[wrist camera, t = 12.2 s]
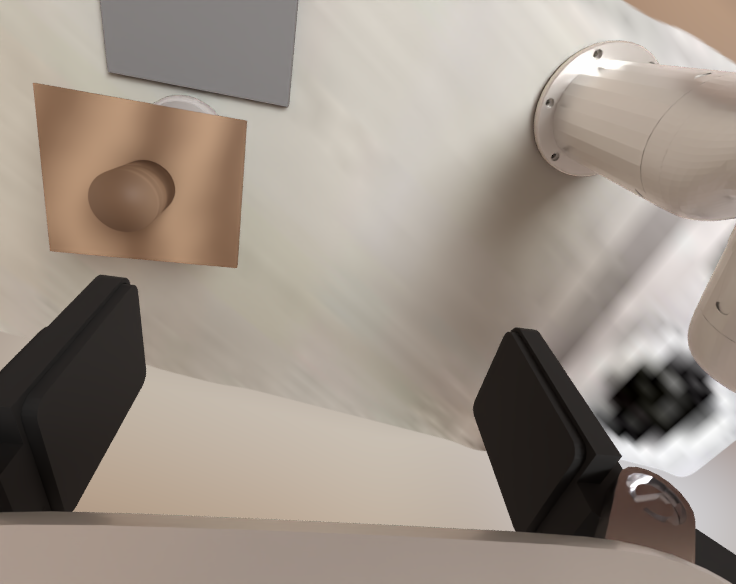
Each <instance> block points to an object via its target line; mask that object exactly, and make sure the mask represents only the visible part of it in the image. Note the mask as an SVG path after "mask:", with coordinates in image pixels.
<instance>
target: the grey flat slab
mask: <svg viewBox="0 0 736 584" xmlns="http://www.w3.org/2000/svg"><path fill="white" fill-rule="evenodd" d="M100 5H101V14H102V23H103V32H104V41H105V50H106V59H107V68H108V72H111V73H116V74H121V75H126V76H132V77H137V78H142V79H147V80H152V81H157V82H162V83H167V84H173V85H178V86H183V87H188V88H193V89H198V90H203V91H209V92H214V93H219V94H224V95H229V96H234V97H239V98H244V99H250V100H255V101H260V102H265V103H270V104H275V105H280V106H285V107H288V106H289V100H290V88H291V77H292V66H293V55H294V43H295V32H296V21H297V10H298V0H100Z"/></svg>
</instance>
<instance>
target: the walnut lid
mask: <svg viewBox="0 0 736 584" xmlns="http://www.w3.org/2000/svg"><path fill="white" fill-rule="evenodd" d="M33 88H34V98H35V108H36V117H37V127H38V137H39V147H40V157H41V166H42V176H43V186H44V196H45V206H46V215H47V225H48V235H49V245H50V251H55V252H66V253H77V254H88V255H99V256H110V257H121V258H132V259H143V260H154V261H165V262H176V263H187V264H198V265H209V266H220V267H231V268H237V265H238V251H239V236H240V221H241V205H242V190H243V175H244V160H245V144H246V129H247V121H245V120H240V119H234V118H229V117H223V116H217V115H212V114H206V113H201V112H195V111H189V110H184V109H178V108H173V107H167V106H161V105H156V104H150V103H145V102H139V101H133V100H128V99H122V98H117V97H111V96H105V95H100V94H94V93H89V92H83V91H77V90H72V89H66V88H61V87H55V86H49V85H44V84H38V83H33Z"/></svg>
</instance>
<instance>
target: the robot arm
mask: <svg viewBox="0 0 736 584" xmlns="http://www.w3.org/2000/svg"><path fill="white" fill-rule="evenodd" d="M594 52H595V55H594V56H593V54H594ZM547 100H548V103H547V104H546V101H547ZM545 104H546V105H545ZM534 134H535V141H536V144H537V147H538V150H539V152H540V153H541V155H542V156H543V158H544V159H545V160H546V161H547V162H548V163H549V164H550V165H551V166H552V167H554V168H556V169H557V170H558V171H561V172H563V173H565V174H568V175H573V176H591V175H596V174H600V175H601V176H603V177H605V178H607V179H609V180H611V181H612V182H614V183H616V184H618V185H620V186H622V187H623V188H625V189H627V190H629V191H631V192H633V193H634V194H636V195H638V196H640V197H642V198H643V199H645V200H647V201H649V202H651V203H653V204H654V205H656V206H658V207H660V208H662V209H664V210H666V211H668V212H670V213H672V214H674V215H677V216H679V217H682V218H686V219H691V220H698V221H719V220H727V219H734V218H736V72H726V71H717V70H707V69H698V68H688V67H678V66H669V65H659V63H658V61H657V60H656V58H655V57H654V56H653V54H652V53H651V52H649V51H648V50H647V49H645V48H644V47H643V46H641V45H638V44H635V43H633V42H627V41H605V42H601V43H596V44H594V45H591V46H589V47H587V48H584V49H582V50H581V51H579V52H578V53H576V54H575V55H573V56H572V57H570V58H569V59H568V60H567V61H566V62H565V63H564V64H562V65H561V66H560V67H559V68H558V70H557V71H556V72H555V73H554V75H553V76H552V77H551V78H550V80H549V81H548V83H547V85H546V86H545V88H544V90H543V92H542V94H541V97H540V99H539V101H538V104H537V108H536V113H535V118H534ZM553 154H554V155H553ZM552 155H553V157H551V156H552ZM688 346H689V349H690V351H691V354H692V356H693V358H694V359H695V360H696V362H697V363H698V365H699V366H700V367H701V368H702V369H703V370H704V371H705V372H706V373H707V374H708V375H710V376H711V377H712V378H713V379H715V380H716V381H717V382H719V383H720V384H722V385H723V386H725V387H726V388H728V389H729V390H731V391H733V392H735V393H736V225H735V227H734V229H733V231H732V233H731V235H730V237H729V239H728V244H727V246H726V248H725V250H724V252H723V254H722V256H721V258H720V260H719V262H718V264H717V266H716V268H715V270H714V272H713V274H712V276H711V278H710V280H709V282H708V284H707V286H706V288H705V290H704V292H703V294H702V296H701V299H700V301H699V303H698V305H697V308H696V310H695V312H694V314H693V317H692V319H691V322H690V325H689V330H688ZM145 377H146V364H145V355H144V345H143V336H142V326H141V316H140V307H139V297H138V289H137V287H136V286H135V285H130V282H129V280H128V279H127V278H122V277H114V276H107V275H99V276H97V277H96V278H95V279H94V280H93V281H92V282H91V283H90V284H89V285H88V286H87V287H86V288H85V289H84V290H83V291H82V292H81V293H80V294H79V295H78V296H77V297H76V298H75V299H74V300H73V301H72V302H71V303H70V304H69V305H68V306H67V307H66V308H65V309H64V310H63V311H62V312H61V314H60V315H59V316H58V317H57V318H56V319H55V320H54V321H53V322H52V323H51V324H50V325H49V326H48V327H45V328H44V329H42V330H41V331H40V332H39V333H38V334H37V335H36V336H35V337H34V338H33V339H32V340H31V341H30V342H29V343H28V344H27V345H26V346H25V347H24V348H23V349H22V350H21V351H20V352H19V353H18V354H17V355H16V356H15V357H14V358H13V359H12V360H11V361H10V362H9V363H8V364H7V365H6V366H5V367H4V368H3V369H2V370H1V371H0V584H736V555H735V554H733V553H732V552H730V551H729V550H727V549H726V548H724V547H723V546H721V545H720V544H718V543H717V542H715V541H714V540H712V539H711V538H709V537H708V536H706V535H705V534H703V533H702V532H700V531H699V530H697V529H695V517H694V512H693V510H692V509H691V507H690V505H689V503H688V502H687V501H686V499H685V498H684V497H683V495H682V494H681V493H680V492H679V491H678V490H677V489H676V488H675V487H673V486H672V485H671V484H670V483H669V482H668V481H666V480H665V479H663V478H662V477H660V476H659V475H657V474H655V473H653V472H651V471H649V470H646V469H642V468H639V467H627V468H626V469H622V467H621V466H620V464H619V463H618V461H619V459H620V458H621V457H622V456H621V454H620V453H619V451H618V450H617V448H616V447H615V445H614V444H613V442H612V441H611V439H610V438H609V436H608V435H607V433H606V432H605V430H604V429H603V427H602V426H601V424H600V423H599V421H598V420H597V418H596V417H595V415H594V414H593V412H592V411H591V409H590V408H589V406H588V405H587V403H586V402H585V400H584V399H583V397H582V396H581V394H580V393H579V391H578V390H577V388H576V387H575V385H574V384H573V382H572V381H571V379H570V378H569V376H568V375H567V373H566V372H565V370H564V369H563V367H562V366H561V364H560V363H559V361H558V360H557V358H556V357H555V355H554V354H553V353H552V351H551V350H550V348H549V347H548V345H547V344H546V342H545V341H544V339H543V338H542V336H541V335H540V333H539V332H538V331H537V330H532V329H524V328H517V327H516V328H514V329H512V330H511V332H507V333H506V334H505V335H504V337H503V339H502V341H501V344H500V346H499V348H498V350H497V353H496V355H495V357H494V359H493V361H492V364H491V366H490V368H489V370H488V373H487V375H486V377H485V379H484V381H483V384H482V386H481V388H480V390H479V393H478V395H477V397H476V399H475V402H474V406H473V413H474V417H475V420H476V423H477V425H478V428H479V431H480V434H481V437H482V439H483V442H484V445H485V448H486V451H487V454H488V456H489V459H490V462H491V465H492V467H493V470H494V473H495V476H496V479H497V482H498V485H499V487H500V490H501V493H502V496H503V498H504V502H505V504H506V507H507V510H508V513H509V516H510V518H511V521H512V524H513V527H514V529H515V531H516V532H513V531H495V530H494V531H493V530H476V529H456V528H439V527H420V526H401V525H400V526H399V525H381V524H360V523H359V524H358V523H339V522H317V521H297V520H276V519H253V518H229V517H206V516H183V515H158V514H131V513H94V512H92V513H90V512H72V511H73V510H74V509H75V507H76V506H77V504H78V502H79V500H80V498H81V497H82V494H83V493H84V491H85V489H86V487H87V486H88V484H89V482H90V480H91V478H92V476H93V475H94V473H95V471H96V469H97V468H98V466H99V464H100V462H101V460H102V458H103V457H104V455H105V453H106V451H107V449H108V448H109V446H110V444H111V442H112V440H113V438H114V437H115V435H116V433H117V431H118V429H119V428H120V426H121V424H122V422H123V420H124V418H125V417H126V415H127V413H128V411H129V409H130V408H131V406H132V404H133V402H134V400H135V398H136V397H137V395H138V393H139V391H140V389H141V388H142V386H143V383H144V381H145Z"/></svg>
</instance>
